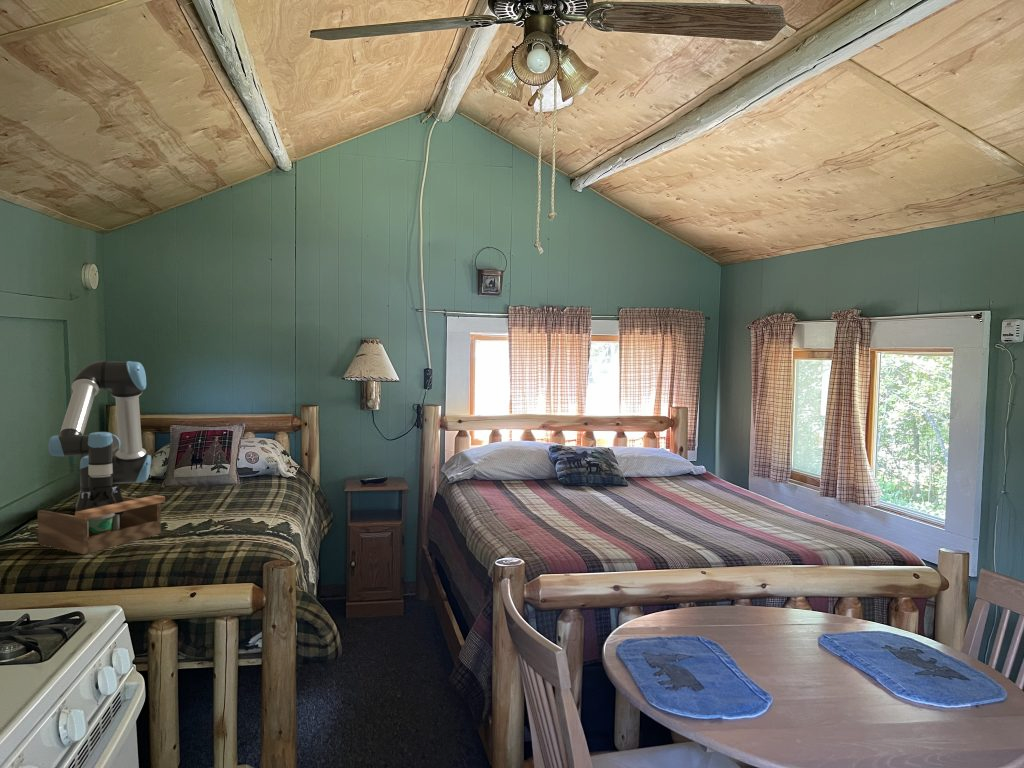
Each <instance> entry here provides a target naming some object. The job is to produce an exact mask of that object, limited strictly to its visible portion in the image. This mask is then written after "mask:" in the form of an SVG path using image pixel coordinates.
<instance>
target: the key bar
mask: <svg viewBox="0 0 1024 768" xmlns="http://www.w3.org/2000/svg"><path fill="white" fill-rule="evenodd" d="M165 502H166V497H165V496H163V495H157V494H154V495H150V496H149V495H148V496H145V497H141V498H139V499H134V500H130V501H125V502H120V503H115V504H110V505H106V506H101V507H96V508H91V509H87V510H82V511H77V512H76V511H74V516H75V518H79V519H90V518H94V517H99V516H103V515H108V514H112V513H117V512H121V511H126V510H130V509H135V508H139V507H144V506H148V505H153V504H157V503H161V504H162V503H165Z"/></svg>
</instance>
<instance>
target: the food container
mask: <svg viewBox="0 0 1024 768" xmlns="http://www.w3.org/2000/svg"><path fill="white" fill-rule="evenodd" d="M114 515H115V513H112V514H108V515H103V516H99V517H94V518H90V519H87V521H88V526H89V537H91V536H95V535H99V534H103V533H107V532H111V531H113V528H112V519H113V516H114Z"/></svg>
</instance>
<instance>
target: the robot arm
mask: <svg viewBox="0 0 1024 768" xmlns="http://www.w3.org/2000/svg"><path fill="white" fill-rule="evenodd" d="M146 375H147V374H146V371H145V367H144V366H143V364H142V363H141V362H139V361H130V360H127V361H123V360H120V361H118V360H117V361H115V360H114V361H111V360H109V361H108V360H107V361H106V360H99V361H94V362H92V363H90V364H88V365H86V366H85V367H83V368H82V369H81V370H80V371H79V372H78V373H77V374H76V375H75V377H74V378H73V381H72V383H71V390H72V394H71V397H70V399H69V403H68V406H67V410H66V413H65V416H64V418H63V422H62V423H61V425H62V426H61V429H60V431H59V435H58V434H57V435H52V436H51V437H50V438H49V440H48V447H47V448H48V453H49V455H51V457H52V456H53V457H78V456H81V457H82V456H83V457H82V458H81V459H80V460H79V462H80V463H79V478H80V479H79V483H80V484H79V485H80V486H79V487H80V489H79V490H80V491H79V495H78V497H77V500H76V503H75V512H77V511H82V510H87V509H91V508H96V507H101V506H106V505H110V504H115V501H114V500H113V496H114V498H115V500H116V503H120V502H124V501H123V499H122V496H123V495H122V493H121V487H120V486H116V485H114V486H113V484H137V483H145V482H146V481H147V480H148V479H149V476H150V472H151V466H152V465H151V464H152V455H150V454H147V450H146V449H145V448H143V443H142V429H141V427H142V426H141V412H140V398H139V397H140V396H141V395H142V394H143V391H144V390H146V388H147V376H146ZM100 390H101V391H102V390H108V391H110V395H111V396H112V397H113V398H115V410H116V411H115V413H116V423H117V426H116V427H117V435H115V434H113V433H111V432H108V431H96V432H91V433H89V434H86V435H85V434H84V433H85V430H86V427H87V424H88V423H87V422H88V421H89V420H88V419H89V416H90V413H91V410H92V407H93V402H94V399H95V396H97V395H98V394H99V392H100ZM113 454H115V455H113ZM123 512H124V511H121V512H117V513H116V514H115V515H114V516H113V528H112V531H115V530H119V529H121V528H120V522H121V514H123ZM87 522H88V521H87ZM88 537H89V526H88Z"/></svg>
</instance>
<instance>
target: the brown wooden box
mask: <svg viewBox="0 0 1024 768" xmlns="http://www.w3.org/2000/svg"><path fill="white" fill-rule="evenodd" d="M121 496H122V499H123V501H124V502H125V501H130V500H134V499H139V498H137V497H133V496H125V495H121ZM113 500H114V501H115V503H116V500H115V498H114V496H113ZM161 504H162V503H157V504H153V505H148V506H144V507H139V508H135V509H130V510H126V511H124V512H123V514H121V522H120V529H119V530H115V531H113V530H112V531H111V532H107V533H103V534H99V535H95V536H91V537H88V522H87V519H79V518H75V515H72V514H68V513H61V512H56V511H49V510H45V509H39V510H37V545H38V544H42V545H46V546H51V547H55V548H54V549H56V548H60V549H63V550H62V551H65V550H67V551H66V552H70V551H71V553H75V552H76V553H75V554H81V555H86V554H91V553H93V552H94V553H95V552H97V551H98V552H99V551H100V550H102V551H103V550H104V549H108V548H112V547H113V548H114V547H116V546H119V545H123V544H128V543H130V542H134V541H135V542H136V541H139V540H142V539H146V538H149V537H153V536H158V535H161V534H162V522H161V521H162V516H161V515H162V511H161V508H162V507H161ZM115 514H116V513H115ZM112 529H113V519H112ZM46 546H45V547H46ZM51 547H50V548H51ZM60 549H59V550H60Z"/></svg>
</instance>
